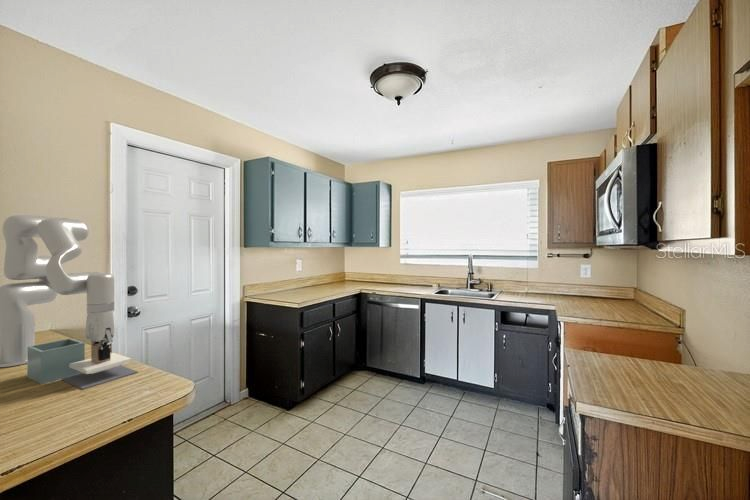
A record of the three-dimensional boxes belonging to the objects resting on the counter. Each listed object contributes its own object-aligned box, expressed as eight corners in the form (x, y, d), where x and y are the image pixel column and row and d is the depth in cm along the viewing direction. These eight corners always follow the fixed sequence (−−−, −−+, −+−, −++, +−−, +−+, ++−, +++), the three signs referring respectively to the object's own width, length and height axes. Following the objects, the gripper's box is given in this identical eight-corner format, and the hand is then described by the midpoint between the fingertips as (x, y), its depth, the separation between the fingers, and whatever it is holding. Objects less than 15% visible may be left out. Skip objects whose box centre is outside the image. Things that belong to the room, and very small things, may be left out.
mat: (61, 379, 111) (61, 378, 111) (115, 364, 125) (115, 363, 125) (83, 389, 104) (83, 388, 104) (137, 372, 118) (137, 371, 118)
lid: (69, 370, 111) (69, 346, 111) (113, 358, 123) (113, 337, 123) (86, 377, 106) (86, 352, 105) (131, 364, 117) (131, 342, 117)
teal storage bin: (27, 377, 112) (27, 346, 112) (70, 366, 123) (70, 338, 123) (41, 384, 107) (40, 351, 107) (84, 372, 118) (84, 342, 117)
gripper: (76, 307, 115) (76, 357, 115) (99, 312, 107) (99, 366, 107) (102, 304, 121) (102, 351, 121) (125, 308, 114) (125, 359, 114)
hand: (101, 357), depth 114 cm, fingers closed on lid, 4 cm apart
